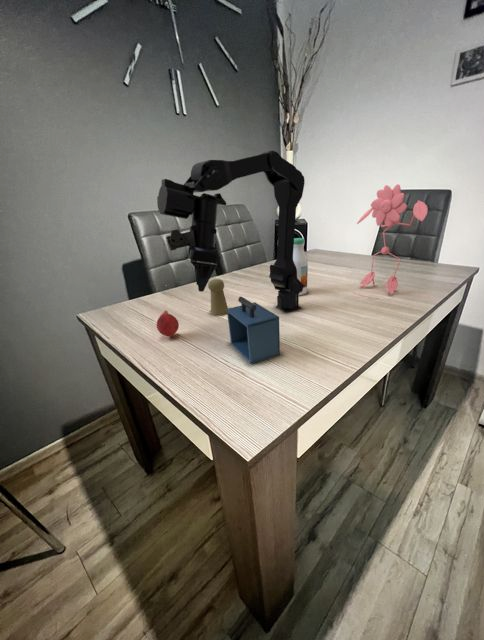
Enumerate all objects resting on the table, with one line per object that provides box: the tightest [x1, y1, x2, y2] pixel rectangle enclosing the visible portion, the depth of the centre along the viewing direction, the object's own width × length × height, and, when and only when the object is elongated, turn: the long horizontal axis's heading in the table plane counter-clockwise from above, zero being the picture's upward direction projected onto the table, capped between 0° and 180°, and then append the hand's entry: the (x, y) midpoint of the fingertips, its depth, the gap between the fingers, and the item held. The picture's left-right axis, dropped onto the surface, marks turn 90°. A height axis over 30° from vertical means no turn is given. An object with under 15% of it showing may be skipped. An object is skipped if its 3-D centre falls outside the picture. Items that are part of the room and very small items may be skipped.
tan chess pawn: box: [207, 278, 229, 316], centre depth 91 cm, size 6×6×11 cm
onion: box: [156, 310, 180, 338], centre depth 77 cm, size 6×6×8 cm
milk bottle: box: [293, 237, 309, 296], centre depth 103 cm, size 8×8×20 cm
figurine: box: [354, 183, 428, 300], centre depth 95 cm, size 15×26×35 cm, turn 34°
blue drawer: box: [226, 296, 281, 365], centre depth 67 cm, size 13×12×8 cm
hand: (199, 288), depth 71 cm, fingers open, 9 cm apart
